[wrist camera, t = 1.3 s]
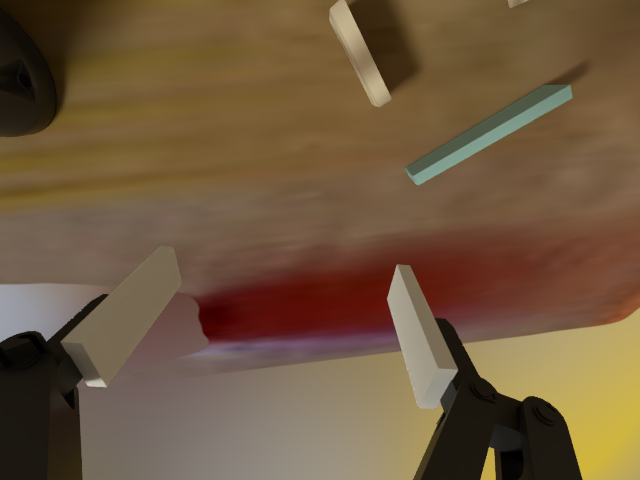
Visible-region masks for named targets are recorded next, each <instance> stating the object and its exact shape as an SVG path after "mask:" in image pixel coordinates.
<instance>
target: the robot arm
mask: <svg viewBox="0 0 640 480" xmlns="http://www.w3.org/2000/svg"><path fill="white" fill-rule="evenodd" d="M55 108H56V94H55V88H54V84H53V80H52V77H51V74H50V72H49V69H48V67H47V65H46V63H45V61H44V59H43V57H42V56H41V54H40V52H39V51H38V49H37V48H36V46H35V45H34V43H33V42H32V41H31V39H30V38H29V37H28V35H27V34H26V33H25V32H24V31H23V30H22V29H21V27H20V26H19V25H18V24H17V23H16V22H15V21H14V20H13V19H12V18H10V17H9V16H8V15H7V14H6V13H5V12H3V11H2V10H1V9H0V137H17V136H24V135H30V134H35V133H38V132H40V131H42V130H43V129H44V128H46V127H47V126H48V125H49V123H50V122H51V120H52V118H53V116H54V113H55ZM181 285H182V281H181V277H180V272H179V268H178V264H177V260H176V256H175V251H174V247H169V246H159V247H158V248H157V249H156V250H155V251H154V252H153V253H152V254H151V255H150V256H149V257H148V258H147V259H146V260H145V261H144V262H143V263H142V264H141V265H140V266H139V267H138V268H137V269H136V270H134V271H133V272H132V273H131V274H130V275H129V276H128V277H127V278H126V279H125V280H124V281H123V282H122V283H121V284H120V285H119V286H118V287H117V288H116V289H115V290H114V291H113V292H112V293H111V294H103V295H101V296H100V297H98V298H96V299H94V300H92V301H91V302H90V303H89V304H87V306H85V307H84V308H83V309H82V311H81V312H79V313H78V314H76V315H75V316H74V318H73V319H71V320H70V321H69V322H68V323H67V324H66V325H65V326H63V327H62V328H61V329H60V330H59V331H58V332H57V333H56V334H55V335H54V336H52V337H51V338H50V339H49V340H48V341H47V342H46V340H45V339H44V337H43V336H42V335H41V333H39V332H36V331H27V332H24V333H19V334H16V335H14V336H12V337H9V338H7V339H6V340H4V341H2V342H1V343H0V480H82V458H81V437H80V414H79V392H78V389H77V386H76V385H77V383H79V381H80V380H81V379H82V378H83V379H84V380H85V382H86V383H87V385H88V386H97V387H107V386H108V385H109V383H110V382H111V381H112V379H113V378H114V377H115V375H116V374H117V372H118V371H119V370H120V368H121V367H122V365H123V364H124V363H125V361H126V360H127V359H128V357H129V356H130V354H131V353H132V352H133V350H134V349H135V348H136V346H137V345H138V343H139V342H140V341H141V339H142V338H143V337H144V335H145V334H146V333H147V331H148V330H149V328H150V327H151V326H152V324H153V323H154V322H155V320H156V319H157V318H158V316H159V315H160V313H161V312H162V311H163V309H164V308H165V307H166V305H167V304H168V302H169V301H170V299H171V298H172V297H173V296H174V294H175V293H176V291H177V290H178V289H179V287H180V286H181ZM387 300H388V304H389V307H390V311H391V314H392V318H393V321H394V325H395V328H396V332H397V335H398V339H399V342H400V346H401V349H402V353H403V356H404V359H405V363H406V367H407V370H408V373H409V377H410V381H411V384H412V388H413V391H414V395H415V398H416V402H417V405H418V408H429V409H436V408H437V406H438V404H439V403H440V402H441V405H442V407H443V410H444V412H443V414H442V415H441V417H440V419H439V421H438V422H437V427H436V429H435V432H434V434H433V436H432V438H431V440H430V443H429V445H428V447H427V449H426V452H425V454H424V456H423V458H422V461H421V463H420V465H419V467H418V470H417V472H416V475H415V476H414V479H413V480H480V478H481V474H482V471H483V467H484V463H485V459H486V456H487V452H488V448H489V447H491V448H494V452H495V471H496V480H582V476H581V473H580V469H579V466H578V462H577V459H576V455H575V451H574V448H573V444H572V441H571V437H570V434H569V430H568V427H567V424H566V422H565V420H564V417H563V416H562V415H561V414H560V413H559V412H558V410H557V409H556V408H554V407H553V406H552V405H551V404H550V403H548V402H546V401H545V400H543V399H541V398H538V397H534V396H530V397H527V398H526V399H524V400H523V401H522V402H521V401H518V400H516V399H513V398H510V397H508V396H505V395H502V394H500V393H498V392H497V391H496V389H495V388H494V387H493V386H492V385H491V384H490V383H489V382H487V381H486V380H485V379H483V378H481V377H480V376H479V375H478V373H477V371H476V369H475V367H474V365H473V363H472V362H471V359H470V358H469V356H468V354H467V352H466V350H465V348H464V346H462V345H463V344H462V342H461V340H460V339H459V338H458V335H457V333H456V331H455V329H454V327H453V326H452V325H451V324H450V323H449V322H448V321H447V320H446V319H441V318H434V317H433V314H432V312H431V310H430V308H429V306H428V304H427V301H426V299H425V297H424V295H423V293H422V291H421V289H420V286H419V284H418V282H417V280H416V278H415V276H414V273H413V271H412V269H411V267H410V265H397V266H396V270H395V273H394V277H393V280H392V284H391V288H390V291H389V295H388V298H387Z"/></svg>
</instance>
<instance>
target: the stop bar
mask: <svg viewBox="0 0 640 480" xmlns="http://www.w3.org/2000/svg"><path fill="white" fill-rule="evenodd" d="M572 98H573V97H572V92H571V86H570V85H543V86H541V87H539V88H538V89H536V90H534V91H533V92H531V93H529V94H528V95H526V96H524V97H523V98H521V99H519V100H518V101H516V102H514V103H513V104H511V105H509V106H508V107H506V108H504V109H503V110H501V111H499V112H498V113H496V114H494V115H493V116H491V117H489V118H488V119H486V120H484V121H483V122H481V123H479V124H478V125H476V126H474V127H473V128H471V129H469V130H468V131H466V132H464V133H462V134H461V135H459V136H457V137H456V138H454V139H452V140H451V141H449V142H447V143H446V144H444V145H442V146H441V147H439V148H437V149H436V150H434V151H432V152H431V153H429V154H427V155H426V156H424V157H422V158H421V159H419V160H417V161H416V162H414V163H412V164H411V165H409V166H407V167H406V168H405V169H406V171H407V173H408V175H409V177H410V178H411V179H412V180H413V181H414V182H415V184H416V185H417V186H418V185H420V184H422V183H423V182H425V181H427V180H429V179H430V178H432V177H434V176H436V175H438V174H439V173H441V172H443V171H445V170H446V169H448V168H450V167H452V166H453V165H455V164H457V163H459V162H460V161H462V160H464V159H466V158H468V157H469V156H471V155H473V154H475V153H476V152H478V151H480V150H482V149H483V148H485V147H487V146H489V145H490V144H492V143H494V142H496V141H498V140H499V139H501V138H503V137H505V136H506V135H508V134H510V133H512V132H513V131H515V130H517V129H519V128H520V127H522V126H524V125H526V124H528V123H529V122H531V121H533V120H535V119H536V118H538V117H540V116H542V115H543V114H545V113H547V112H549V111H550V110H552V109H554V108H556V107H558V106H559V105H561V104H563V103H565V102H566V101H568V100H570V99H572Z"/></svg>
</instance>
